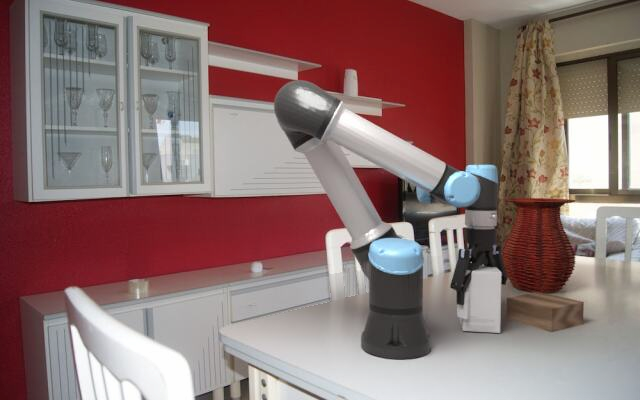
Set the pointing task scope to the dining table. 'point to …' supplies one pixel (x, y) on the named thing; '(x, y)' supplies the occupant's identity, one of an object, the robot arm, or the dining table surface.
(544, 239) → the vase
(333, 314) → the dining table surface
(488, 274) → the supplement box
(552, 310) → the walnut base block
